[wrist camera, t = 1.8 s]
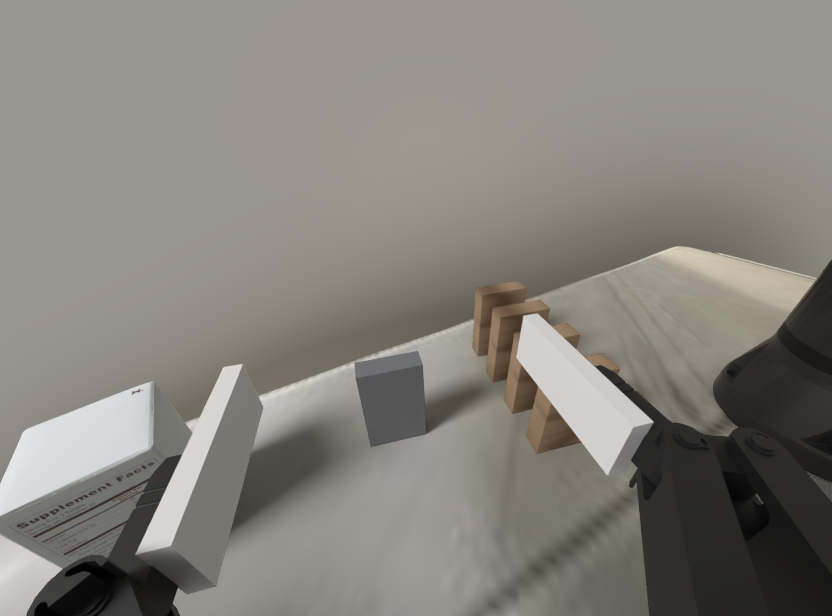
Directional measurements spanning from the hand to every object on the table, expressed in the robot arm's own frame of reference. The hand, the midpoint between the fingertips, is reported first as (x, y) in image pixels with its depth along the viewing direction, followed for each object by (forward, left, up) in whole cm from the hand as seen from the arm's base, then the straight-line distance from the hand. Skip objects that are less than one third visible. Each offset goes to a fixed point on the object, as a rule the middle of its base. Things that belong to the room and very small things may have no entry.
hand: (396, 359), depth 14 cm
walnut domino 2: (-13, -17, -19) cm, 29 cm away
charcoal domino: (+2, -10, -19) cm, 21 cm away
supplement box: (+21, -2, -19) cm, 28 cm away
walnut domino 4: (-15, -8, -19) cm, 25 cm away
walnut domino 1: (-13, -22, -19) cm, 32 cm away
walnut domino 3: (-14, -12, -19) cm, 27 cm away
